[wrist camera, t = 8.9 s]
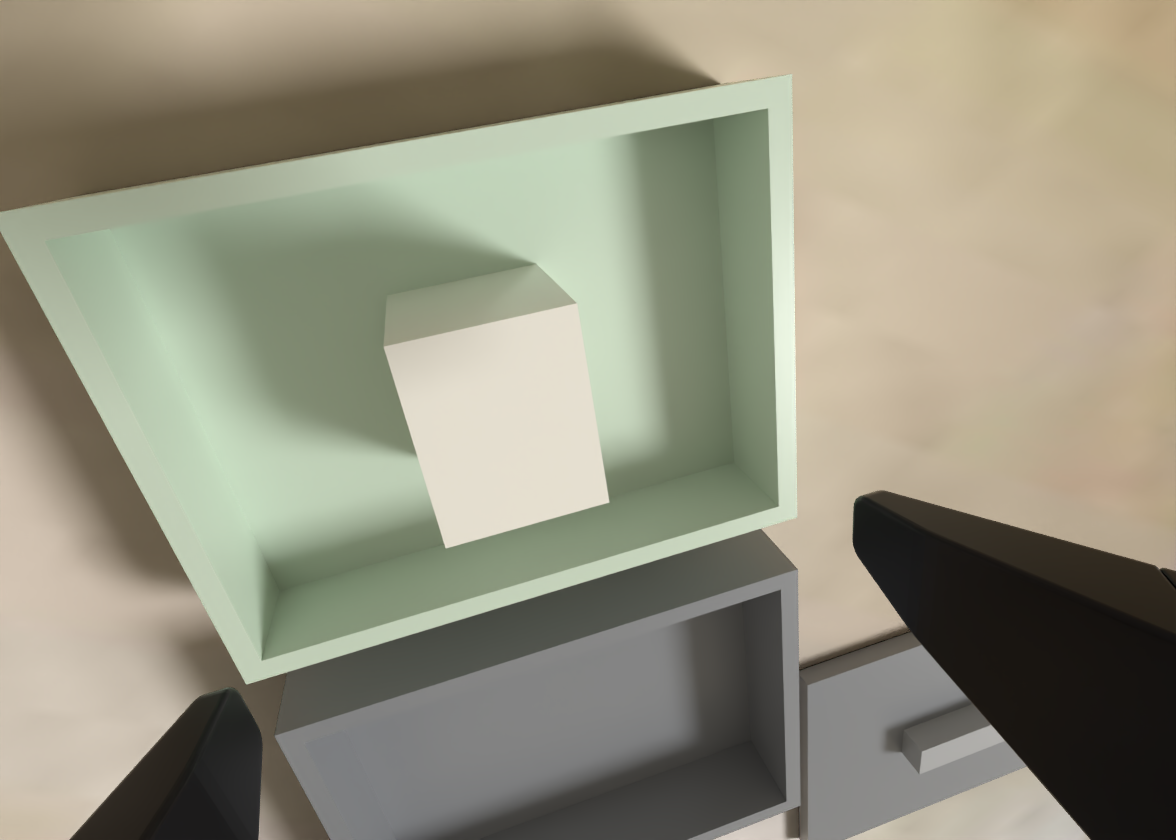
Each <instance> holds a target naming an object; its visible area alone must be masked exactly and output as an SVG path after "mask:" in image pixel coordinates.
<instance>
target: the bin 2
mask: <svg viewBox="0 0 1176 840" xmlns="http://www.w3.org/2000/svg"><path fill="white" fill-rule="evenodd" d="M274 737H275V738H276V740H277V742H278V744H279V746H280V748H281V749H282V751H283V753H284V755H285V757H286V759H287V761H288V762H289V764H290V766H291V768H292V770H293V772H294V773H295V775H296V777H297V779H298V781H299V783H300V784H301V786H302V788H303V790H304V792H305V794H306V795H307V797H308V799H309V801H310V803H311V805H312V807H313V808H314V810H315V812H316V814H317V816H318V818H319V819H320V821H321V823H322V825H323V827H324V829H325V830H326V832H327V834H328V836H329V838H330V840H713V839H716V838H718V837H721V836H723V835H726V834H729V833H731V832H734V831H736V830H739V829H741V828H744V827H747V826H749V825H752V824H754V823H757V822H760V821H762V820H765V819H767V818H770V817H772V816H775V815H778V814H780V813H783V812H785V811H788V810H791V809H793V808H796V807H798V806H801V803H800V718H799V633H798V569H797V568H796V567H795V566H794V565H793V564H792V562H791V561H790V560H789V559H788V558H787V557H786V556H785V555H784V554H783V553H782V551H781V550H780V549H779V548H778V547H777V546H776V545H775V544H774V543H773V542H772V540H771V539H770V538H769V537H768V536H767V535H766V534H765V533H764V532H763V531H762V529H758V530H754V531H751V532H748V533H745V534H741V535H738V536H735V537H731V538H728V539H725V540H721V541H718V542H715V543H712V544H708V545H705V546H702V547H698V548H695V549H692V550H689V551H685V552H682V553H679V554H675V555H672V556H669V557H665V558H662V559H659V560H656V561H652V562H649V563H646V564H642V565H639V566H636V567H632V568H629V569H626V570H623V571H619V572H616V573H613V574H609V575H606V576H603V577H599V578H596V579H593V580H590V581H586V582H583V583H580V584H576V585H573V586H570V587H567V588H563V589H560V590H557V591H553V592H550V593H547V594H543V595H540V596H537V597H534V598H530V599H527V600H524V601H520V602H517V603H514V604H510V605H507V606H504V607H501V608H497V609H494V610H491V611H487V612H484V613H481V614H477V615H474V616H471V617H468V618H464V619H461V620H458V621H454V622H451V623H448V624H445V625H441V626H438V627H435V628H431V629H428V630H425V631H421V632H418V633H415V634H412V635H408V636H405V637H402V638H398V639H395V640H392V641H388V642H385V643H382V644H379V645H375V646H372V647H369V648H365V649H362V650H359V651H356V652H352V653H349V654H346V655H342V656H339V657H336V658H332V659H329V660H326V661H323V662H319V663H316V664H313V665H309V666H306V667H303V668H299V669H296V670H293V671H290V672H287V675H286V680H285V685H284V690H283V695H282V700H281V705H280V710H279V715H278V720H277V725H276V729H275V734H274Z"/></svg>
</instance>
